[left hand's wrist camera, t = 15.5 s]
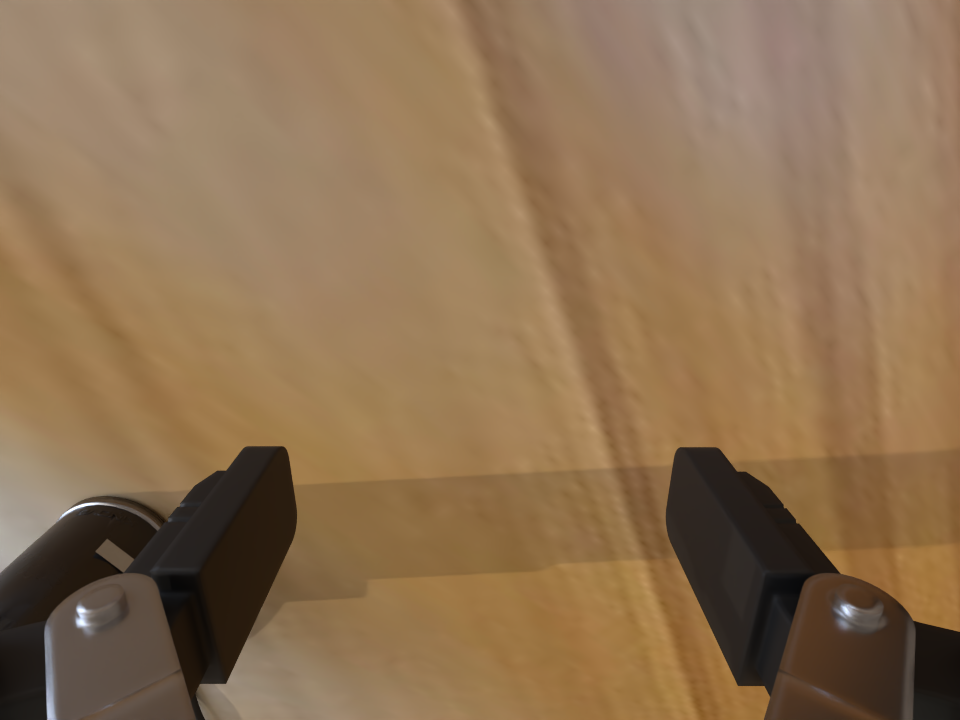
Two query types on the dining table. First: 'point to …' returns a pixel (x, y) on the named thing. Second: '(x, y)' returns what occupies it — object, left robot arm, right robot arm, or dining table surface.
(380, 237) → the dining table surface
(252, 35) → the dining table surface
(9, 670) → the left robot arm
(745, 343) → the dining table surface
